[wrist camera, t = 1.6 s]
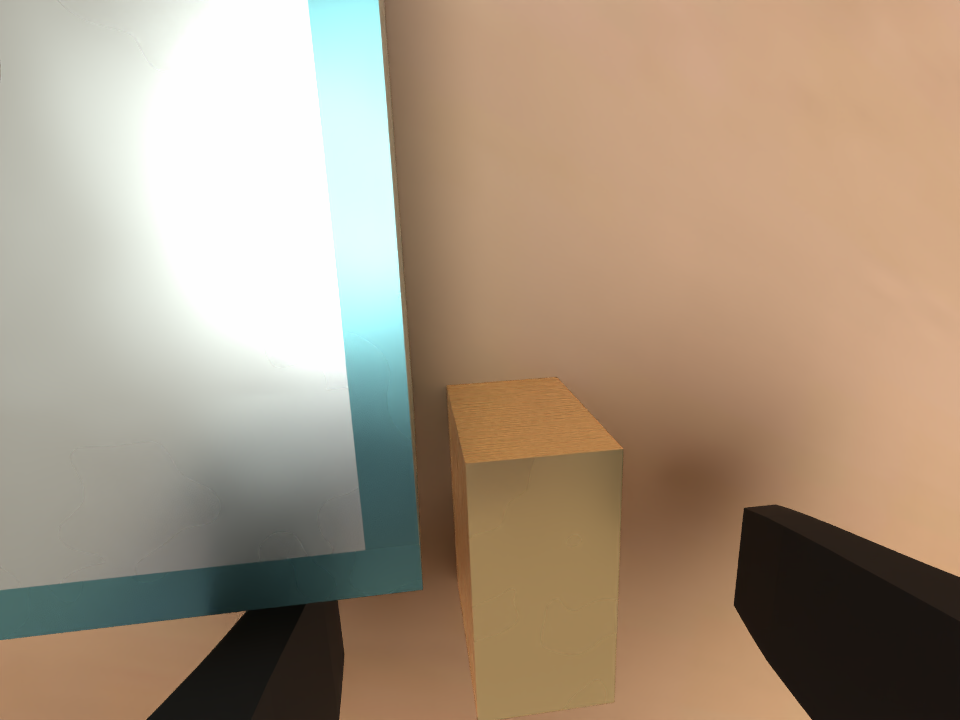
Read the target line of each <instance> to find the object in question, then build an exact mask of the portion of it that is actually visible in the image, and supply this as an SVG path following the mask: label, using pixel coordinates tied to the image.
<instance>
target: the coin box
mask: <svg viewBox="0 0 960 720" xmlns="http://www.w3.org/2000/svg"><path fill="white" fill-rule="evenodd" d="M416 590H423V582H422V562H421V542H420V521H419V501H418V480H417V460H416V440H415V419H414V403H413V389H412V375H411V361H410V348H409V334H408V320H407V307H406V293H405V279H404V265H403V252H402V238H401V224H400V210H399V197H398V183H397V169H396V155H395V142H394V128H393V114H392V101H391V87H390V73H389V59H388V46H387V32H386V18H385V4H384V0H0V640H5V639H13V638H22V637H30V636H39V635H47V634H55V633H64V632H72V631H80V630H89V629H97V628H106V627H114V626H122V625H131V624H139V623H148V622H156V621H164V620H173V619H181V618H189V617H198V616H206V615H215V614H223V613H231V612H240V611H248V610H257V609H265V608H273V607H282V606H290V605H298V604H307V603H315V602H324V601H332V600H340V599H349V598H357V597H366V596H374V595H382V594H391V593H399V592H407V591H416Z"/></svg>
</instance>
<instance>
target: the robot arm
mask: <svg viewBox="0 0 960 720" xmlns="http://www.w3.org/2000/svg"><path fill="white" fill-rule="evenodd" d="M734 606H735V608H736V610H737V612H738V613H739V615H740V617H741V619H742V620H743V622H744V624H745V626H746V627H747V629H748V631H749V633H750V634H751V636H752V638H753V639H754V641H755V642H756V644H757V646H758V647H759V649H760V650H761V652H762V654H763V655H764V657H765V658H766V660H767V661H768V663H769V664H770V665H771V667H772V668H773V669H774V671H775V672H776V673H777V675H778V676H779V677H780V679H781V680H782V681H783V683H784V684H785V685H786V687H787V688H788V689H789V690H790V692H791V693H792V694H793V696H794V697H795V698H796V700H797V701H798V702H799V704H800V705H801V706H802V707H803V709H804V710H805V711H806V713H807V714H808V715H809V716H810V718H811V719H812V720H960V577H958V576H955V575H953V574H950V573H947V572H945V571H942V570H940V569H937V568H935V567H932V566H930V565H927V564H925V563H923V562H920V561H918V560H915V559H913V558H910V557H908V556H905V555H903V554H901V553H898V552H896V551H893V550H891V549H888V548H886V547H884V546H881V545H879V544H876V543H874V542H872V541H869V540H867V539H865V538H862V537H860V536H857V535H855V534H852V533H850V532H848V531H845V530H843V529H840V528H838V527H836V526H833V525H831V524H828V523H826V522H823V521H821V520H818V519H816V518H813V517H811V516H808V515H805V514H803V513H800V512H797V511H794V510H791V509H788V508H785V507H782V506H779V505H767V506H758V507H748V508H744V513H743V522H742V532H741V541H740V551H739V560H738V570H737V579H736V589H735V598H734ZM343 666H344V648H343V640H342V632H341V624H340V616H339V608H338V600H332V601H324V602H315V603H307V604H298V605H290V606H282V607H273V608H265V609H257V610H248V611H246V612H245V614H244V615H243V616H242V617H241V618H240V619H239V621H238V622H237V623H236V624H235V625H234V626H233V627H232V629H231V630H230V631H229V632H228V633H227V634H226V635H225V636H224V638H223V639H222V640H221V641H220V642H219V643H218V644H217V646H216V647H215V648H214V649H213V650H212V651H211V652H210V654H209V655H208V656H207V657H206V658H205V659H204V660H203V661H202V662H201V663H200V665H199V666H198V667H197V668H196V669H195V670H194V671H193V672H192V673H191V674H190V675H189V676H188V677H187V678H186V679H185V680H184V681H183V682H182V683H181V684H180V685H179V686H178V688H177V689H176V690H175V691H174V692H173V693H172V694H171V695H170V696H169V697H168V698H167V699H166V700H165V701H164V702H163V703H162V704H161V705H160V706H159V707H158V708H157V709H156V710H155V711H154V712H153V713H152V714H151V715H150V716H149V717H148V718H147V719H146V720H339V715H340V704H341V693H342V680H343Z"/></svg>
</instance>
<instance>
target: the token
mask: <svg viewBox="0 0 960 720" xmlns="http://www.w3.org/2000/svg"><path fill="white" fill-rule="evenodd" d="M447 402H448V420H449V438H450V456H451V474H452V492H453V510H454V528H455V546H456V564H457V581H458V588H459V595H460V602H461V609H462V615H463V622H464V629H465V636H466V643H467V650H468V657H469V664H470V671H471V678H472V685H473V692H474V699H475V706H476V713H477V720H500V719H507V718H514V717H520V716H527V715H534V714H540V713H547V712H554V711H561V710H567V709H574V708H581V707H587V706H594V705H601V704H607V703H614V698H615V670H616V642H617V615H618V587H619V559H620V531H621V503H622V475H623V448H622V447H621V446H620V445H619V444H618V443H617V442H616V440H615V439H614V438H613V437H612V436H611V435H610V434H609V433H608V432H607V431H606V430H605V429H604V427H603V426H602V425H601V424H600V423H599V422H598V421H597V420H596V419H595V418H594V417H593V416H592V415H591V413H590V412H589V411H588V410H587V409H586V408H585V407H584V406H583V405H582V404H581V403H580V402H579V400H578V399H577V398H576V397H575V396H574V395H573V394H572V393H571V392H570V391H569V390H568V389H567V387H566V386H565V385H564V384H563V383H562V382H561V381H560V380H559V379H558V378H557V377H551V378H538V379H525V380H512V381H499V382H485V383H472V384H459V385H447Z"/></svg>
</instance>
